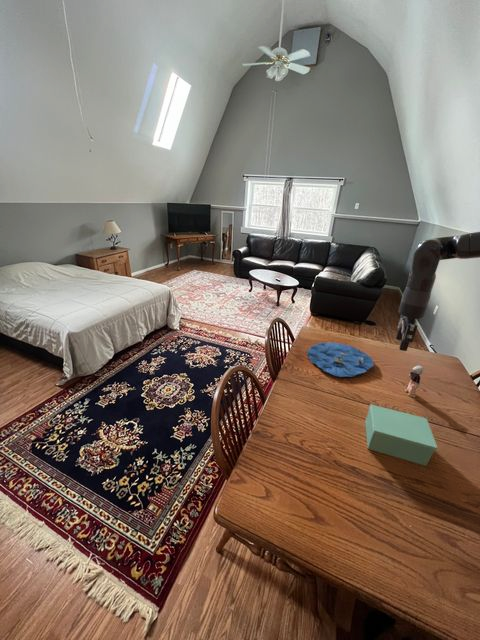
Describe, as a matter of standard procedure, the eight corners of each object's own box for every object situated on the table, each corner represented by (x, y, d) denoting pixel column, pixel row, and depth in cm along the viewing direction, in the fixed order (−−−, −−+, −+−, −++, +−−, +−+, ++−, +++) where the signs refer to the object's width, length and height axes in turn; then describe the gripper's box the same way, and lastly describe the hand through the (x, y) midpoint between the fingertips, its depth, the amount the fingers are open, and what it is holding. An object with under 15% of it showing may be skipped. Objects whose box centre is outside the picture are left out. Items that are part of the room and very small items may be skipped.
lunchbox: (416, 435, 87) (424, 419, 84) (426, 466, 77) (434, 449, 74) (365, 421, 91) (370, 406, 88) (367, 448, 81) (373, 432, 78)
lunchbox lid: (425, 420, 83) (426, 418, 83) (436, 450, 74) (437, 448, 73) (370, 406, 88) (370, 404, 88) (373, 432, 78) (374, 430, 78)
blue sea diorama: (300, 371, 118) (302, 361, 115) (311, 340, 143) (313, 331, 140) (374, 388, 107) (377, 377, 105) (372, 351, 132) (374, 342, 130)
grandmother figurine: (420, 399, 102) (431, 372, 97) (410, 399, 102) (421, 372, 97) (408, 386, 109) (418, 360, 104) (399, 386, 109) (409, 360, 104)
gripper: (433, 310, 81) (416, 356, 87) (423, 297, 93) (409, 338, 100) (405, 306, 83) (391, 351, 90) (398, 293, 95) (387, 334, 102)
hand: (400, 344), depth 95 cm, fingers open, 8 cm apart
